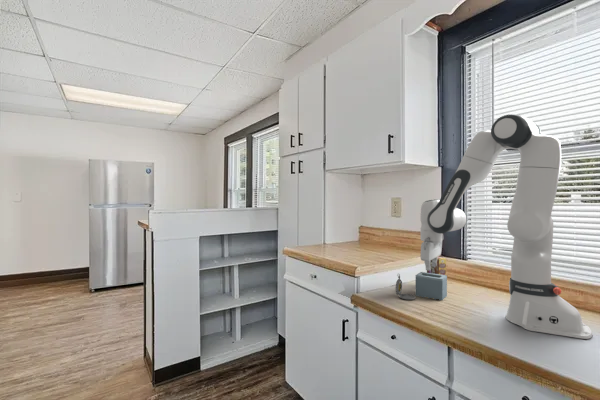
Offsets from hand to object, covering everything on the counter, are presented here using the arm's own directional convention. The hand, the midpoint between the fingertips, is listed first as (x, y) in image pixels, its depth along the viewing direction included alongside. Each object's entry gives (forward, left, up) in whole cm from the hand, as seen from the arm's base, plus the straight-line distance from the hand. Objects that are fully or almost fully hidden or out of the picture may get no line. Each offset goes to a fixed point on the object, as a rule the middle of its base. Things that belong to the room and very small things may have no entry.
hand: (431, 268), depth 135 cm
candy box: (+1, -12, -12) cm, 18 cm away
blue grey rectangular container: (0, 0, -12) cm, 12 cm away
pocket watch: (+9, +10, -12) cm, 18 cm away
